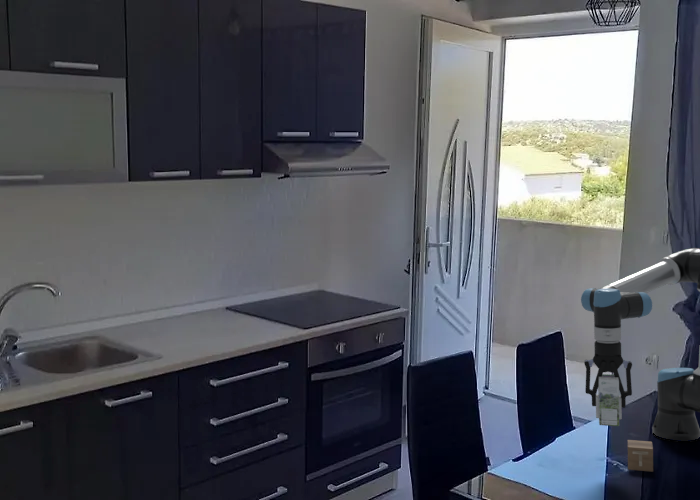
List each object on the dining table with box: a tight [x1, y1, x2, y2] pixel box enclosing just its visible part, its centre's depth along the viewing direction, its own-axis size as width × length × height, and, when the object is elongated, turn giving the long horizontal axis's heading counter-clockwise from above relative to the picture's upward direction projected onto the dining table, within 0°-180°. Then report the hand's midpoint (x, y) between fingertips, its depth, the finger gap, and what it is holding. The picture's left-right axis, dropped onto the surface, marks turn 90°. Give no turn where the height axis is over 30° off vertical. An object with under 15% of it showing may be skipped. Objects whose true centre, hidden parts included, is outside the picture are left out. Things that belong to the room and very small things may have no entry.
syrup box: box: [597, 373, 620, 427], centre depth 220 cm, size 6×6×14 cm
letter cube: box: [627, 439, 654, 473], centre depth 224 cm, size 7×7×7 cm
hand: (608, 417), depth 220 cm, fingers closed on syrup box, 6 cm apart
